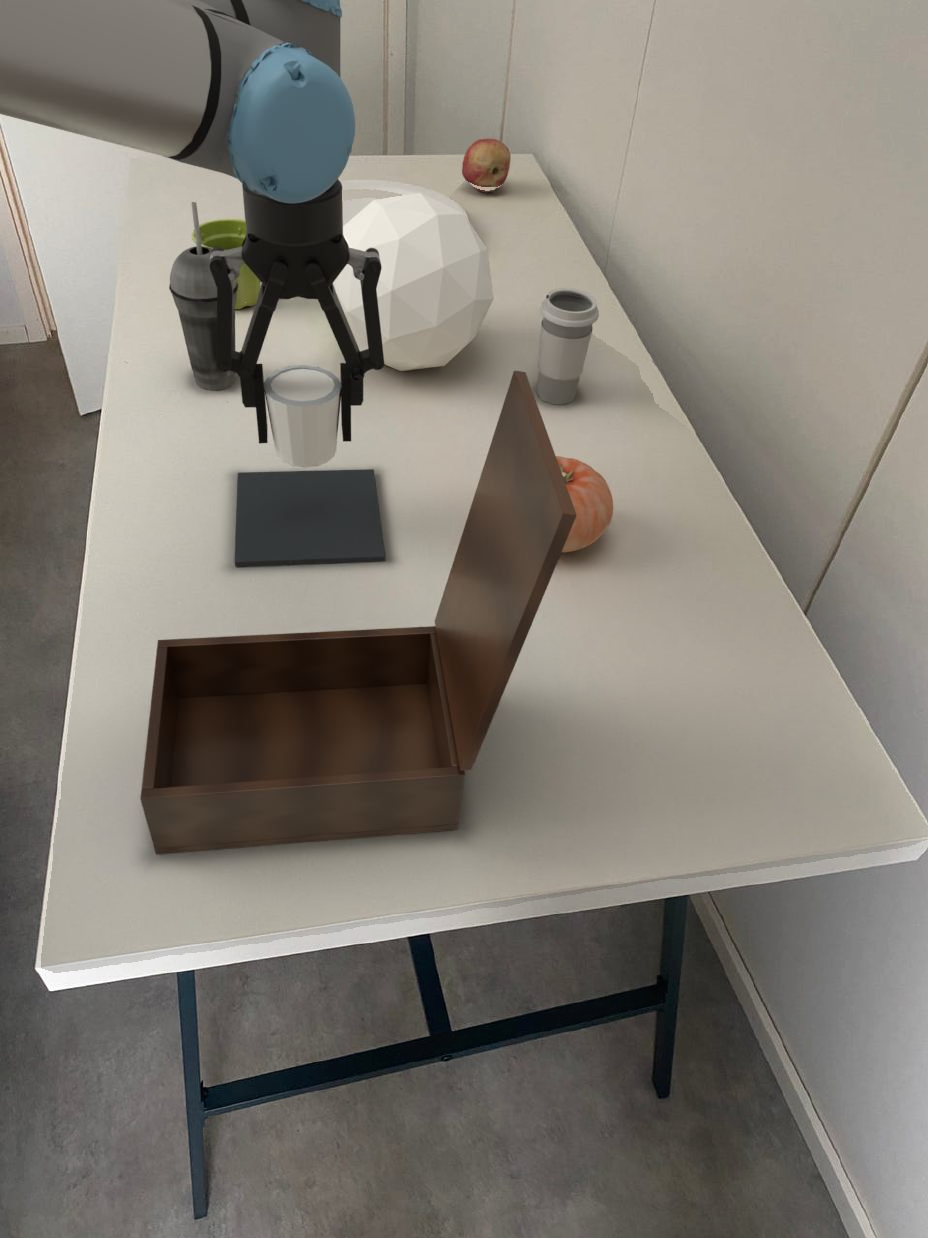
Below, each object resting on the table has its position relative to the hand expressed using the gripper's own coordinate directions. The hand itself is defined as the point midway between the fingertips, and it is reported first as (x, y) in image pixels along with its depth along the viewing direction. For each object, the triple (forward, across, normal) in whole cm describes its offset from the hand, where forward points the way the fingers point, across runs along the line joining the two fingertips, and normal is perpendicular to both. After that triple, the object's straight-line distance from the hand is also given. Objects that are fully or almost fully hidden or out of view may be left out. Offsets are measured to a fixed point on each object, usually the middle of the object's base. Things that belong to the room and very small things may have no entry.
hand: (305, 433), depth 89 cm
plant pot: (+10, -8, +46) cm, 48 cm away
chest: (+10, -1, -30) cm, 32 cm away
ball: (+10, +13, +31) cm, 35 cm away
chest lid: (-9, +11, -30) cm, 33 cm away
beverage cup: (+10, -10, +26) cm, 30 cm away
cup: (+10, +30, +22) cm, 38 cm away
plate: (+10, +12, +68) cm, 70 cm away
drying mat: (+10, 0, 0) cm, 10 cm away
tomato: (+10, +24, -4) cm, 26 cm away
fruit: (+10, +31, +84) cm, 91 cm away
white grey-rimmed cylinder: (+2, 0, 0) cm, 2 cm away
